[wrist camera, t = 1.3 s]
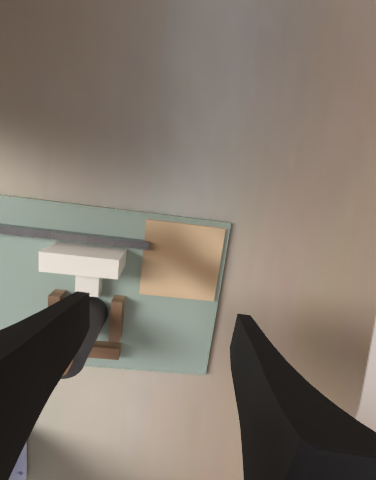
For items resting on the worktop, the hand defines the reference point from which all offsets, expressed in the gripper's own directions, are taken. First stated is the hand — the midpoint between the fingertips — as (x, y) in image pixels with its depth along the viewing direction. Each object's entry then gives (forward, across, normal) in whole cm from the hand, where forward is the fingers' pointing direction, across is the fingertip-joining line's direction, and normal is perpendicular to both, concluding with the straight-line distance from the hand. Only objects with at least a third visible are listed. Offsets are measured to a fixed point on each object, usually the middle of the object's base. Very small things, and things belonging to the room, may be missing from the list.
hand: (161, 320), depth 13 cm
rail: (+10, +11, +1) cm, 15 cm away
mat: (+10, +9, +6) cm, 15 cm away
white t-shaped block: (+10, +8, +3) cm, 13 cm away
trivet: (+11, 0, +2) cm, 12 cm away
